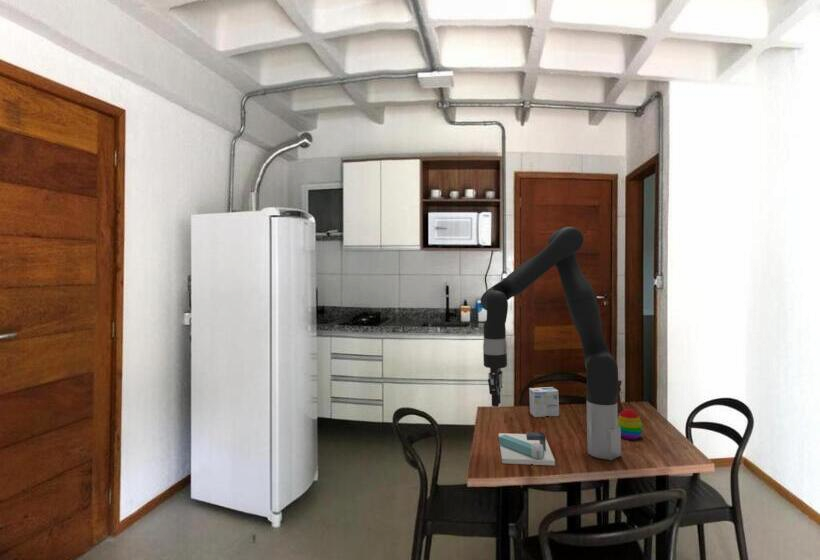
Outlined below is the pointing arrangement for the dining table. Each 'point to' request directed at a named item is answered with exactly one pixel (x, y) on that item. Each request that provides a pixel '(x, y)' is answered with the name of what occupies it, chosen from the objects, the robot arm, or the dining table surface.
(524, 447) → the teal long piece
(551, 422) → the dining table surface
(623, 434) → the decorative egg
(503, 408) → the dining table surface
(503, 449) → the board
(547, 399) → the light bulb box
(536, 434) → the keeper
